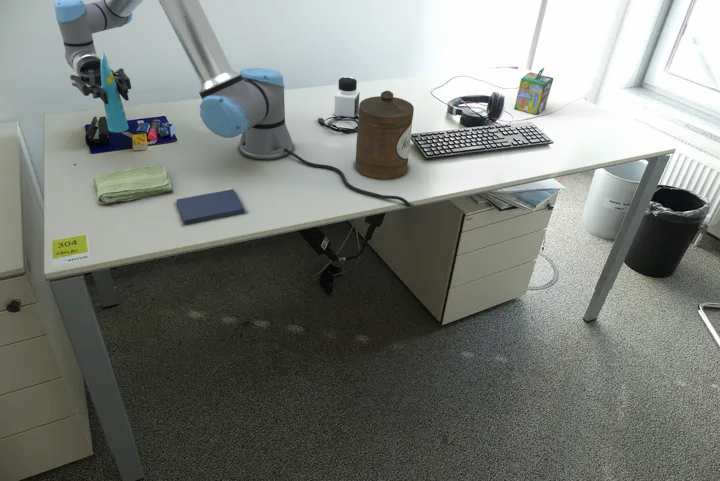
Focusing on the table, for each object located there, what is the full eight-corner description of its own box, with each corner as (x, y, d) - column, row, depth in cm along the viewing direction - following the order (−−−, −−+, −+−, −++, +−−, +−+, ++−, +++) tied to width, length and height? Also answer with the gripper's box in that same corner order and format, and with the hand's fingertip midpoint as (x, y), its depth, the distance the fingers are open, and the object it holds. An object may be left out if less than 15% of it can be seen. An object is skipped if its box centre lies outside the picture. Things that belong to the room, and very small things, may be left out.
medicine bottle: (354, 118, 176) (356, 83, 169) (334, 115, 177) (334, 80, 170) (358, 110, 182) (360, 76, 175) (339, 108, 183) (339, 74, 176)
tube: (130, 133, 134) (114, 58, 123) (110, 135, 133) (91, 59, 121) (126, 122, 140) (111, 49, 129) (107, 124, 138) (89, 50, 127)
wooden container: (411, 179, 143) (420, 102, 130) (357, 179, 141) (361, 101, 129) (403, 155, 155) (410, 82, 142) (353, 154, 153) (356, 81, 141)
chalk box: (522, 102, 196) (531, 62, 187) (545, 108, 192) (556, 68, 183) (512, 109, 190) (522, 68, 181) (537, 115, 186) (547, 74, 177)
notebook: (233, 193, 133) (233, 188, 132) (244, 212, 125) (243, 208, 125) (177, 203, 127) (176, 199, 127) (184, 224, 120) (184, 220, 120)
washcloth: (175, 193, 131) (173, 181, 129) (99, 207, 124) (96, 196, 122) (164, 170, 141) (162, 159, 139) (93, 183, 133) (90, 172, 132)
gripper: (127, 78, 148) (154, 105, 133) (61, 88, 140) (82, 118, 125) (121, 51, 144) (148, 76, 129) (52, 59, 135) (73, 87, 120)
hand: (116, 96), depth 127 cm, fingers closed on tube, 4 cm apart
